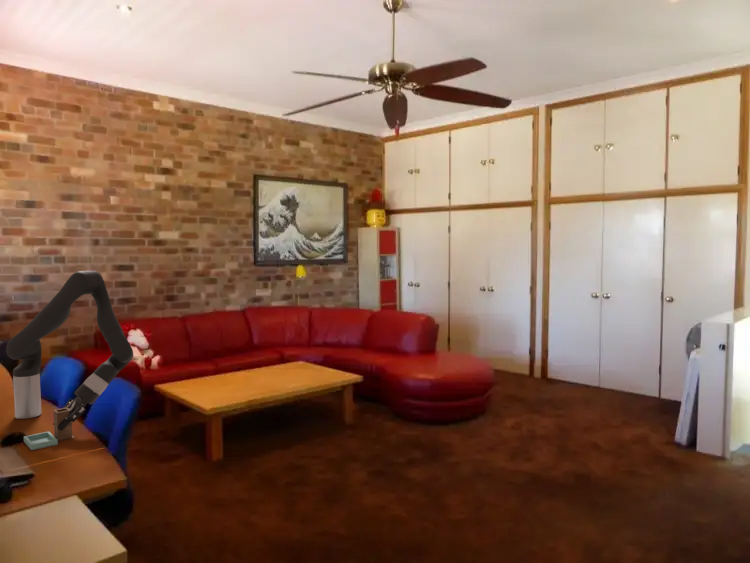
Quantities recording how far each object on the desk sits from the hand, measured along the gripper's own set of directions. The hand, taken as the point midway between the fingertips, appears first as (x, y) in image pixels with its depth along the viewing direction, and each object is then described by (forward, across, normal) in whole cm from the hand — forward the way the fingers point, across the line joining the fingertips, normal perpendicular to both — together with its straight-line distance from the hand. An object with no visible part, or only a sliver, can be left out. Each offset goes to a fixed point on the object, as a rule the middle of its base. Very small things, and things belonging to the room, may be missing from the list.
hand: (57, 427), depth 200 cm
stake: (+2, 0, +5) cm, 5 cm away
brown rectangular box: (+2, 0, +4) cm, 4 cm away
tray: (+7, +1, -1) cm, 7 cm away
